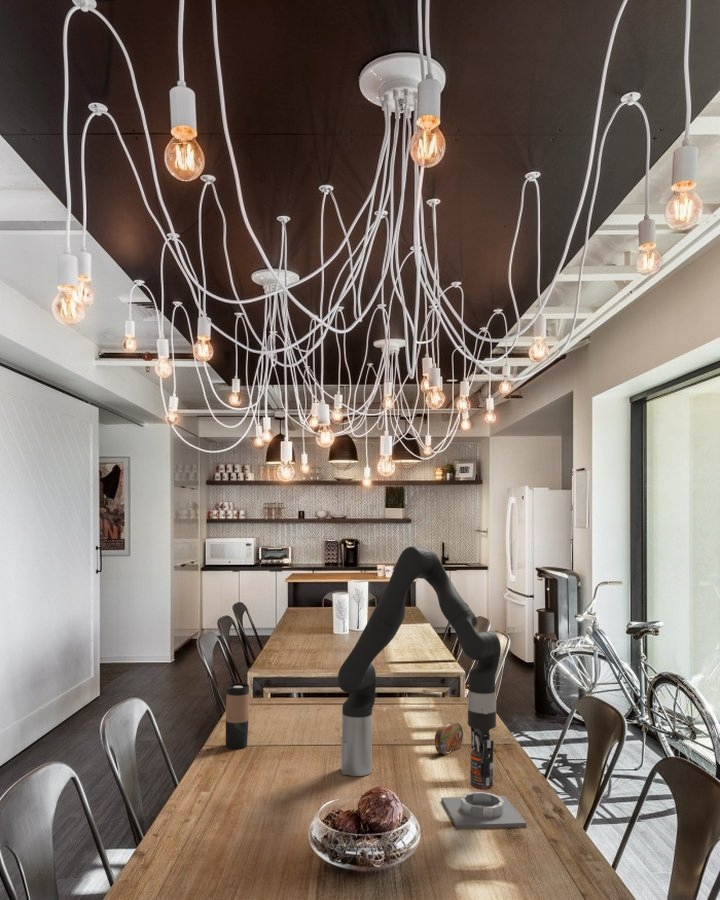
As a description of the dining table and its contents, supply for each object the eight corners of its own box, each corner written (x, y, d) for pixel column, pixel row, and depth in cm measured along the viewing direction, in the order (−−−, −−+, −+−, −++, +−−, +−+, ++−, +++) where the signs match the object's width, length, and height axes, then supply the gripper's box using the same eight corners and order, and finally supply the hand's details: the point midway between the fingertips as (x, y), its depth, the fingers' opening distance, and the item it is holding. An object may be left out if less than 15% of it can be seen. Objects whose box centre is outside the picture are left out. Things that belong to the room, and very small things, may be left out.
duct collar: (467, 818, 187) (467, 808, 187) (456, 802, 198) (456, 792, 198) (508, 817, 188) (508, 807, 188) (496, 801, 199) (496, 791, 199)
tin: (441, 757, 238) (441, 730, 238) (432, 755, 239) (433, 729, 240) (463, 746, 250) (463, 720, 250) (455, 744, 251) (455, 719, 252)
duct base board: (457, 829, 183) (457, 825, 183) (441, 801, 201) (441, 797, 201) (526, 826, 185) (526, 822, 185) (504, 799, 203) (504, 795, 203)
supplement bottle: (466, 786, 193) (466, 742, 194) (477, 780, 198) (477, 737, 199) (485, 792, 189) (486, 747, 190) (497, 786, 194) (497, 742, 195)
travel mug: (250, 743, 249) (251, 683, 251) (244, 750, 242) (246, 688, 244) (228, 742, 250) (230, 682, 252) (222, 749, 243) (223, 687, 244)
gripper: (461, 701, 202) (461, 764, 200) (475, 715, 188) (475, 783, 186) (487, 701, 203) (487, 763, 201) (503, 715, 188) (503, 782, 187)
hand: (481, 772), depth 194 cm, fingers closed on supplement bottle, 6 cm apart
